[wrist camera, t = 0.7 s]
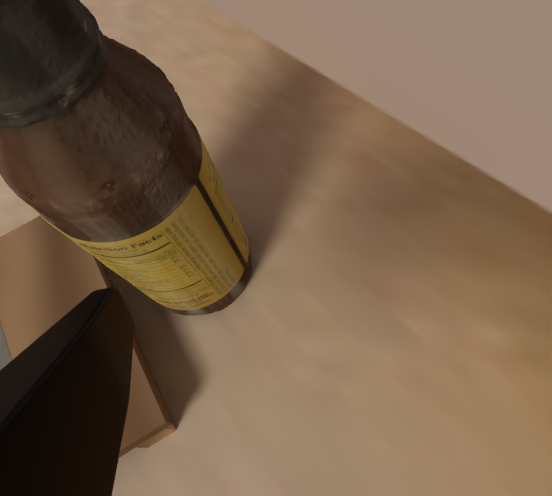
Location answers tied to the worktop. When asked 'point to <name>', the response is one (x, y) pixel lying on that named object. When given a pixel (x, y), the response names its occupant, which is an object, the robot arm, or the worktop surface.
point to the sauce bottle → (114, 158)
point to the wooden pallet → (57, 303)
